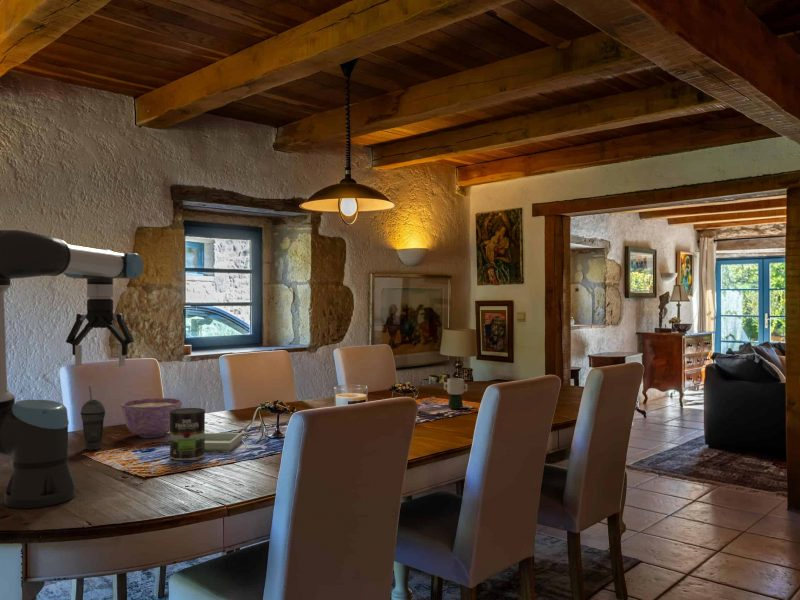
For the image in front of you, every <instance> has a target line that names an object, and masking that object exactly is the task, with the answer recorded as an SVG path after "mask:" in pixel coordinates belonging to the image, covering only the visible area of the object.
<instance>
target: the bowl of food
mask: <svg viewBox="0 0 800 600" xmlns="http://www.w3.org/2000/svg"><path fill="white" fill-rule="evenodd" d="M182 402H183V401H182V400H181V399H178V398H171V397H170V398H169V397H156V398H155V397H153V398H152V397H151V398H140V399H132V400H128V401H123V402H122V403H121V404H120V407H121V409H122V413H123V418H124V421H125V425H126V427H127V429H128V430H129V431H130V433H133V434H135V435H138V436H139V437H140V438H145V439H151V438H152V439H153V438H159V437H163V436H165V434H166V433H170V411H171V410H175V409H182V408H181V407H182Z"/></svg>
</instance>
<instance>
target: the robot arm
mask: <svg viewBox="0 0 800 600" xmlns="http://www.w3.org/2000/svg"><path fill="white" fill-rule="evenodd" d="M143 261H144V260H143V258H142V256H141V255H140V254H138V253H136V252H135V253H134V252H133V253H132V252H118V251H113V250H111V249H106V248H94V247H87V246H81V245H77V244H76V245H75V244H69V243H67V242H66V241H64V240H63V239H61V238H57V237H53V236H49V235H44V234H40V233H35V232H30V231H27V230H26V231H25V230H19V229H0V456H3V455H5V456H12V471H11V474H10V476H9V480H8V484H7V485H6V488H5V491H4V495H3V499H4V500H3V501H4V502H3V503H4V504H3V505H4V506H5V507H7V508H13V509H35V508H37V509H38V508H44V507H45V508H46V507H51V506H54V505H57V504H58V505H59V504H62V503H64V502H68V501H70V500H72V499H74V498H75V497H76V495H77V488H76V486H77V485H76V482H75V479H74V478H73V474H72V471H71V469H70V466H69V457H68V456H69V449H68V448H69V425H70V424H69V416H68V409H67V407H66V406H65V405H64V404H63V403H61V402H59V401H54V400H47V399H24V400H17V401H16V402H15V399H16V397H15V395H14V394H13V393H12V392H10V391H9V390H8V379H7V378H8V377H7V349H6V347H7V346H6V324H5V318H6V317H5V292H6V291H7V290H8V289H9V288H10V287H11V280H12V279H25V278H34V277H46V276H47V277H48V276H49V277H58V276H60V275H62V274H63V275H64V276H66V277H67V278H71V279H74V280H75V279H82V280H84V279H85V280H86V282H87V283H86V297H87V300H86V311H87V313H85V314H84V313H77V314H76V317H75V322H74V324H73V325H72V328H71V330H70V332H69V333H68V336H67V338H66V340H65V342H66V343H67V344H70V345H72V348H71V350H72V356H74V357H75V358H74V365H75V366H74V367H81V366H83V364H82V363H83V362H82V361H83V357H82V356H83V354H82V353H83V352H82V351H83V349H82V348H83V346H82V344H81V342H82V341H83V339H84V338H86V336H87V335H88V334H89V333H90V331H92V329H98V328H99V329H107V330H109V331H110V332H111V334H112V335H113V337H115V338H116V340H117V341H118V342H119V343H120V344H119V345H118V367H124V366H126V361H125V360H126V356H127V355H128V353H129V352H128V350H129V349H128V347H129V344H132V343H134V342H135V340H134V338H133V336H132V333H131V331H130V330H129V328H128V326H127V323H126V321H125V317H124V313H116V314H114V300H113V297H114V282H113V281H114V279H128V280H130V279H138V278H140V277H141V275H142V274H143V271H144V262H143ZM85 320H87V323H86V324H85V326H84V327H83V329H81V328H82V326H83V323H84V321H85ZM113 320H115V321H116V322H117V324H118V326H119V329H120V331H121V332H122V333H121V332H120V331H119V329H118V328H117V327H116V325H115V324H114V323H113V322H114V321H113ZM80 329H81V331H80ZM79 331H80V332H79Z"/></svg>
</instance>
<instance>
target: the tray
mask: <svg viewBox="0 0 800 600" xmlns="http://www.w3.org/2000/svg"><path fill="white" fill-rule="evenodd" d="M242 442H243V433H241V432H240V433H239V432H238V433H236V432H235V433H234V432H233V433H232V432H231V433H230V432H227V433H226V432H207V433H206V432H205V453H214V452H213V451H229V452H228V453H231V452H232V451H233V450H234V449H235V448H236V447H237V445H238V444H239V443H240V444H241V443H242ZM240 444H239V445H240ZM239 445H238V446H239ZM232 449H233V450H232ZM231 450H232V451H231ZM230 451H231V452H230Z"/></svg>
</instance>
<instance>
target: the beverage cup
mask: <svg viewBox="0 0 800 600" xmlns="http://www.w3.org/2000/svg"><path fill="white" fill-rule="evenodd" d="M91 386H92V385H89V386H88V390H89V399H90V400H88V401H85V403H83V405H82V407H81V409H80V410H81V411H80V417H81V420H82V430H83V441H84V449H85V450H86V449H88V450H87V451H93V450H92V449H96V450H99V449H98V448H100V449H101V448H102V441H103V431H104V419H105V416H106V408H105V405H104V403H102V402H101V401H100V400H98V399H93V396H92V395H93V394H92V389H91V388H92V387H91ZM89 449H90V450H89Z"/></svg>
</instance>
